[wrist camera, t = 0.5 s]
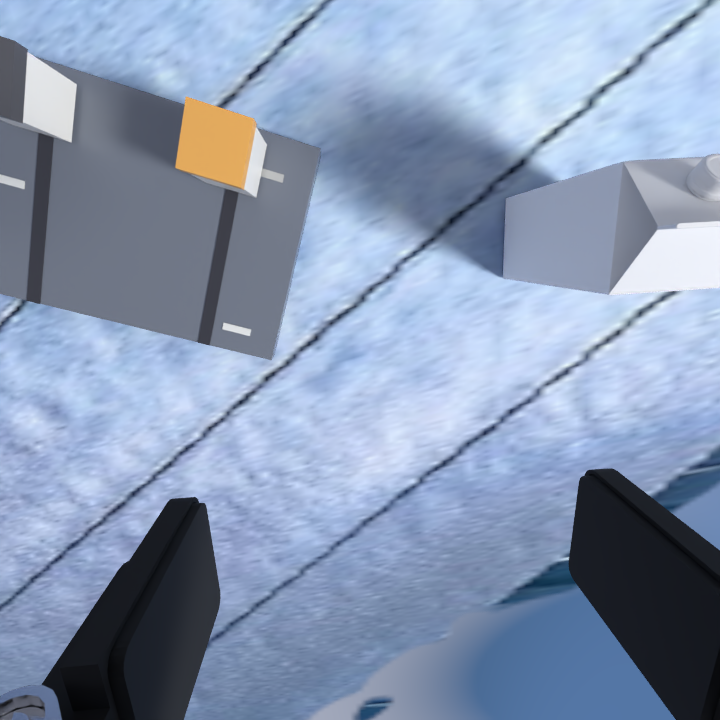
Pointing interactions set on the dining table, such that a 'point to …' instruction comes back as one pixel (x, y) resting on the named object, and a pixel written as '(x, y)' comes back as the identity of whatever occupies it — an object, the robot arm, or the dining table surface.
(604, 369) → the dining table surface
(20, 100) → the block
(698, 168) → the milk carton
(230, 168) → the fader orange
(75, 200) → the console
